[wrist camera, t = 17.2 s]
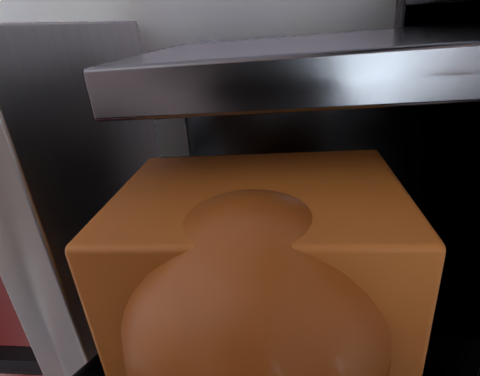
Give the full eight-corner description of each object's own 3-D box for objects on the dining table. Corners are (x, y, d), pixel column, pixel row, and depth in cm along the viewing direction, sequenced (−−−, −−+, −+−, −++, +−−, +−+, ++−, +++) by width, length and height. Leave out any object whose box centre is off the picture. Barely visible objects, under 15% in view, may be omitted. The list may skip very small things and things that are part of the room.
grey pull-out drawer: (45, 330, 17) (-79, 492, 11) (-72, 38, 11) (-419, 57, 6) (499, 343, 14) (645, 562, 8) (610, -21, 9) (1169, -87, 3)
